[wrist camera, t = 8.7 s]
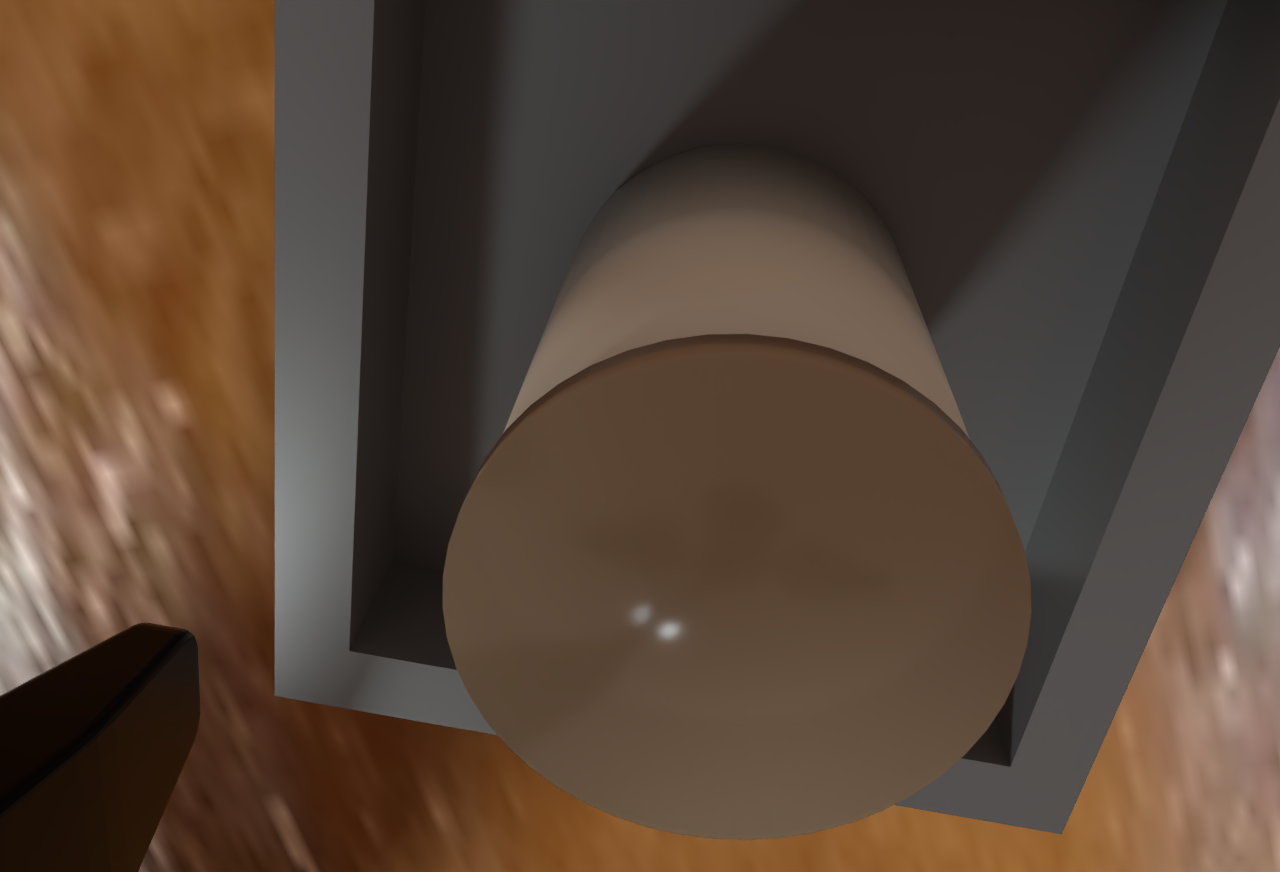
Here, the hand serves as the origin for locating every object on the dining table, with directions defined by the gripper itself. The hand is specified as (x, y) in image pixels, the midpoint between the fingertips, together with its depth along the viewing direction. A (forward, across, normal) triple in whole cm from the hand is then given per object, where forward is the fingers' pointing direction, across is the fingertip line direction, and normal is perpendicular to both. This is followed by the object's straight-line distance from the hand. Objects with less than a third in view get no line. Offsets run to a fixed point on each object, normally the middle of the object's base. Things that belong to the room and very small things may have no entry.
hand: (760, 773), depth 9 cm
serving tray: (+11, 0, 0) cm, 11 cm away
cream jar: (+10, 0, 0) cm, 10 cm away
